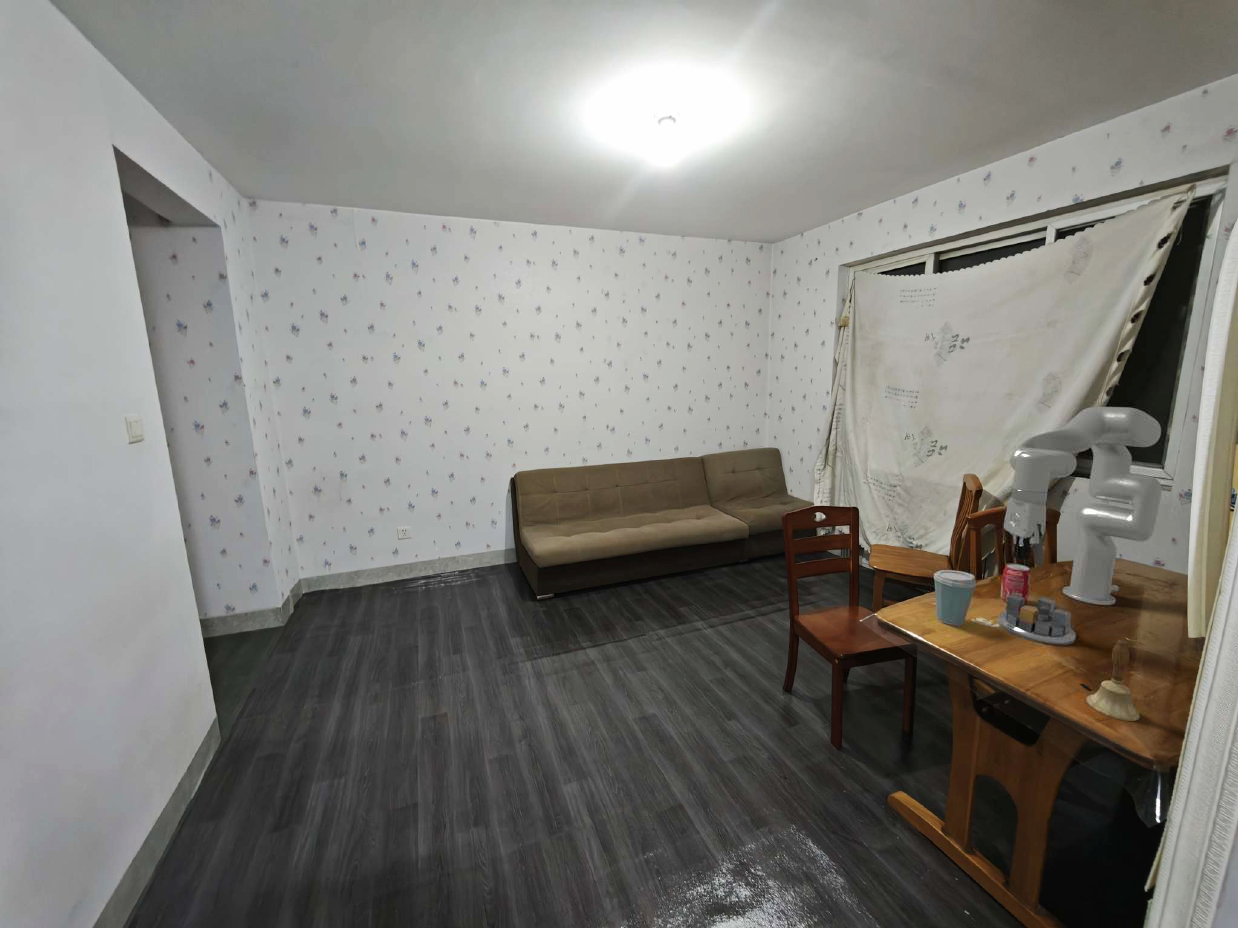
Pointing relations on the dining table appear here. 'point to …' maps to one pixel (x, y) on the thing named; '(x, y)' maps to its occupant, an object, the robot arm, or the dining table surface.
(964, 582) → the disposable coffee cup
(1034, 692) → the dining table surface
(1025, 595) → the soda can
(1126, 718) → the hand bell
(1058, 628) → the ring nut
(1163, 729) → the dining table surface
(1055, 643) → the base
